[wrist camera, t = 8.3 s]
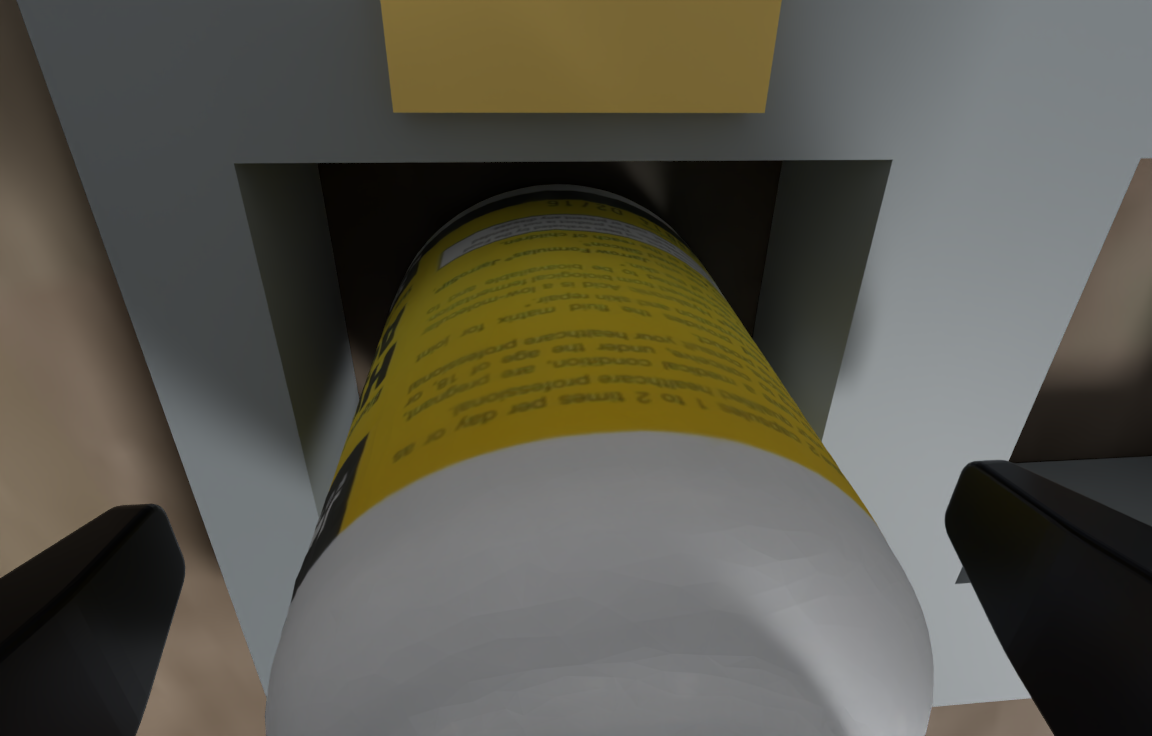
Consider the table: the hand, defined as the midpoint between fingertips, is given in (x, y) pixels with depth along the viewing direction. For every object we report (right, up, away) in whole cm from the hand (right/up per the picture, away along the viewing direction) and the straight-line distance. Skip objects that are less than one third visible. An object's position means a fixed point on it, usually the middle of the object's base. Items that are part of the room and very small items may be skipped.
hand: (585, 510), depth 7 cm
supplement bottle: (-1, +2, +4) cm, 5 cm away
